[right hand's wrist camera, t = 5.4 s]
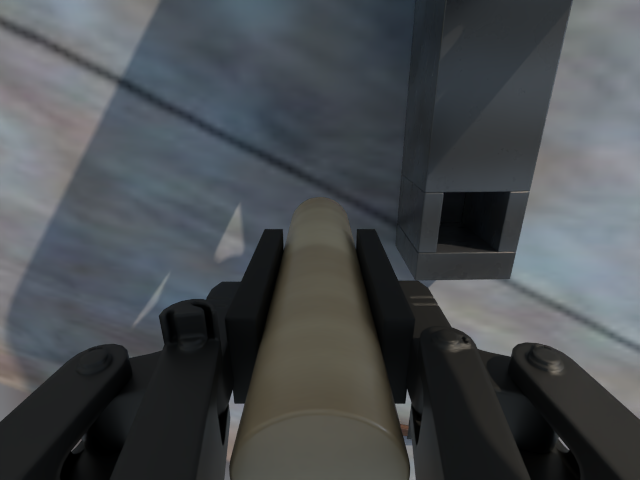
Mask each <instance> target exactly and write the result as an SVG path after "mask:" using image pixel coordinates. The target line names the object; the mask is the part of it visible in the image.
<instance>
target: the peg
mask: <svg viewBox="0 0 640 480" xmlns="http://www.w3.org/2000/svg"><path fill="white" fill-rule="evenodd" d="M229 471H230V480H409V477H410V463H409V458H408V454H407V450H406V446H405V442H404V438H403V434H402V430H401V426H400V422H399V418H398V414H397V410H396V406H395V402H394V398H393V394H392V390H391V386H390V382H389V378H388V374H387V371H386V367H385V363H384V359H383V355H382V351H381V347H380V343H379V339H378V335H377V331H376V327H375V323H374V319H373V315H372V311H371V307H370V303H369V299H368V295H367V291H366V287H365V283H364V280H363V276H362V272H361V268H360V264H359V260H358V256H357V252H356V248H355V244H354V240H353V236H352V232H351V228H350V224H349V220H348V217H347V214H346V212H345V210H344V209H343V208H342V206H341V205H340V204H338V203H337V202H335V201H334V200H332V199H329V198H324V197H316V198H311V199H308V200H306V201H305V202H303V203H302V204H300V205H299V206H298V208H297V209H296V210H295V212H294V214H293V217H292V220H291V224H290V228H289V232H288V236H287V240H286V244H285V248H284V251H283V255H282V259H281V263H280V267H279V271H278V275H277V279H276V283H275V287H274V291H273V295H272V299H271V302H270V306H269V310H268V314H267V318H266V322H265V326H264V330H263V334H262V338H261V342H260V346H259V350H258V353H257V357H256V361H255V365H254V369H253V373H252V377H251V381H250V385H249V389H248V393H247V397H246V401H245V404H244V408H243V412H242V416H241V420H240V424H239V428H238V432H237V436H236V440H235V444H234V448H233V452H232V456H231V460H230V466H229Z"/></svg>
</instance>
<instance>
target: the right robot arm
mask: <svg viewBox="0 0 640 480" xmlns="http://www.w3.org/2000/svg"><path fill="white" fill-rule="evenodd" d="M283 251H284V248H283V229H265V230H264V232H263V234H262V237H261V239H260V241H259V243H258V246H257V248H256V250H255V252H254V254H253V257H252V259H251V261H250V263H249V265H248V268H247V270H246V272H245V274H244V276H243V279H242V281H241V282H221V283H220V284H218V285H217V286H216V287H214V288H213V289H212V290H211V291H210V293H209V295H208V296H207V300H204V299H191V300H185V301H181V302H178V303H175V304H173V305H171V306H169V307H168V308H166V309H164V310H163V312H162V313H161V314H160V315H159V319H160V324H161V329H162V334H163V339H164V344H165V345H164V347H163V350H162V351H159V352H155V353H152V354H147V355H142V356H138V357H133V358H129V355H128V351H127V350H126V349H125V348H124V347H123V346H121V345H116V344H107V345H100V346H95V347H92V348H89V349H87V350H85V351H83V352H81V353H79V354H77V355H76V356H74V357H73V358H71V359H70V360H69V361H67V362H66V363H65V364H64V365H63V366H62V367H61V368H60V369H59V370H57V371H56V372H55V373H54V374H53V375H52V376H51V377H50V378H49V379H47V380H46V381H45V382H44V383H43V384H42V385H41V386H40V387H39V388H37V389H36V390H35V391H34V392H33V393H32V394H31V395H30V396H29V397H27V398H26V399H25V400H24V401H23V402H22V403H21V404H20V405H19V406H17V407H16V408H15V409H14V410H13V411H12V412H11V413H10V414H9V415H7V416H6V417H5V418H4V419H3V420H2V421H1V422H0V480H224V476H225V466H226V456H227V446H228V436H229V426H230V411H229V400H230V397H231V394H232V390H233V395H234V403H235V404H245V401H246V397H247V393H248V389H249V385H250V381H251V377H252V373H253V369H254V365H255V361H256V357H257V353H258V350H259V346H260V342H261V338H262V334H263V330H264V326H265V322H266V318H267V314H268V310H269V306H270V302H271V299H272V295H273V291H274V287H275V283H276V279H277V275H278V271H279V267H280V263H281V259H282V255H283ZM356 252H357V256H358V260H359V264H360V268H361V272H362V276H363V280H364V283H365V287H366V291H367V295H368V299H369V303H370V307H371V311H372V315H373V319H374V323H375V327H376V331H377V335H378V339H379V343H380V347H381V351H382V355H383V359H384V363H385V367H386V371H387V374H388V378H389V382H390V386H391V390H392V394H393V398H394V402H395V404H405V401H406V393H407V389H408V393H409V396H410V399H411V402H412V403H411V411H410V419H409V427H408V435H407V439H411V438H412V445H413V455H414V465H415V475H416V480H640V419H638V418H637V417H636V416H635V415H634V414H633V413H632V412H631V411H629V410H628V409H627V408H626V407H625V406H624V405H623V404H622V403H620V402H619V401H618V400H617V399H616V398H615V397H614V396H613V395H612V394H610V393H609V392H608V391H607V390H606V389H605V388H604V387H603V386H601V385H600V384H599V383H598V382H597V381H596V380H595V379H594V378H592V377H591V376H590V375H589V374H588V373H587V372H586V371H585V370H584V369H582V368H581V367H580V366H579V365H578V364H577V363H576V362H575V361H573V360H572V359H571V358H570V357H568V356H567V355H565V354H564V353H562V352H560V351H558V350H556V349H554V348H552V347H550V346H547V345H543V344H538V343H522V344H518V345H516V346H515V347H514V348H513V350H512V354H511V357H509V356H504V355H500V354H495V353H490V352H486V351H482V350H479V349H477V347H476V344H475V343H474V342H473V340H472V339H471V337H469V336H468V335H466V334H465V333H464V332H462V331H459V330H457V329H455V328H452V327H451V325H450V324H449V322H448V320H447V319H446V317H445V315H444V314H443V312H442V310H441V309H440V307H439V306H438V304H437V302H436V300H435V299H434V298H433V295H432V294H431V292H430V290H429V289H428V288H427V287H426V286H424V285H423V284H422V283H420V282H419V281H398V279H397V277H396V275H395V273H394V270H393V268H392V266H391V264H390V262H389V259H388V257H387V255H386V253H385V250H384V248H383V246H382V244H381V242H380V239H379V237H378V235H377V233H376V231H375V229H357V243H356ZM559 437H560V438H561V439H562V441H563V442H564V443H565V444H566V446H567V447H568V448H569V449H570V450H568V449H567V448H566V447H565V446H564V445H563V444H562V443H561V442H560V441H559V439H558V438H559ZM80 439H82V441H81V442H80V443H79V445H78V446H77V447H76V448H75V449H74V450H73V451H72V452H71V450H72V449H73V448H74V446H75V445H76V444H77V443H78V442H79V440H80Z"/></svg>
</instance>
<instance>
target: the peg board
mask: <svg viewBox="0 0 640 480" xmlns="http://www.w3.org/2000/svg"><path fill="white" fill-rule="evenodd" d="M572 1H573V0H416V3H415V15H414V28H413V40H412V52H411V64H410V77H409V89H408V101H407V113H406V126H405V138H404V150H403V162H402V176H401V188H400V200H399V212H398V224H397V236H396V247H397V249H398V251H399V252H400V254H401V256H402V258H403V259H404V261H405V263H406V265H407V266H408V268H409V270H410V272H411V274H412V275H413V277H414V279H415V280H473V279H510V276H511V272H512V267H513V263H514V259H515V254H516V250H517V245H518V241H519V236H520V232H521V228H522V223H523V219H524V214H525V210H526V205H527V201H528V197H529V191H530V187H531V183H532V178H533V174H534V170H535V165H536V161H537V156H538V152H539V147H540V143H541V139H542V134H543V130H544V125H545V121H546V116H547V112H548V108H549V103H550V99H551V94H552V90H553V85H554V81H555V77H556V72H557V68H558V63H559V59H560V54H561V50H562V46H563V41H564V37H565V32H566V28H567V23H568V19H569V15H570V10H571V6H572ZM443 192H466V197H465V203H464V210H463V216H462V223H440V218H441V211H442V203H443V195H444V193H443Z"/></svg>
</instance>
